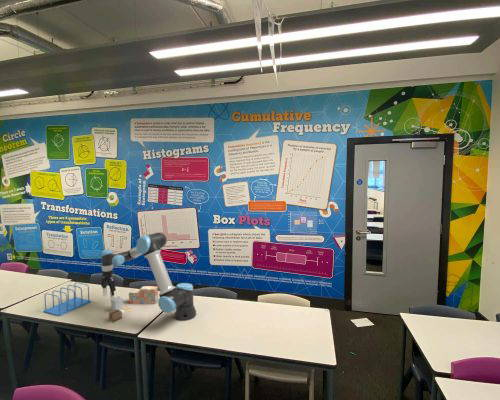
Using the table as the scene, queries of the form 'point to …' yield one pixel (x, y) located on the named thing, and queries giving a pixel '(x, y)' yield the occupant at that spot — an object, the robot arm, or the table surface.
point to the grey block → (117, 303)
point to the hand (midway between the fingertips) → (108, 297)
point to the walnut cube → (115, 315)
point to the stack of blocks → (144, 295)
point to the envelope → (125, 308)
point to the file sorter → (66, 302)
